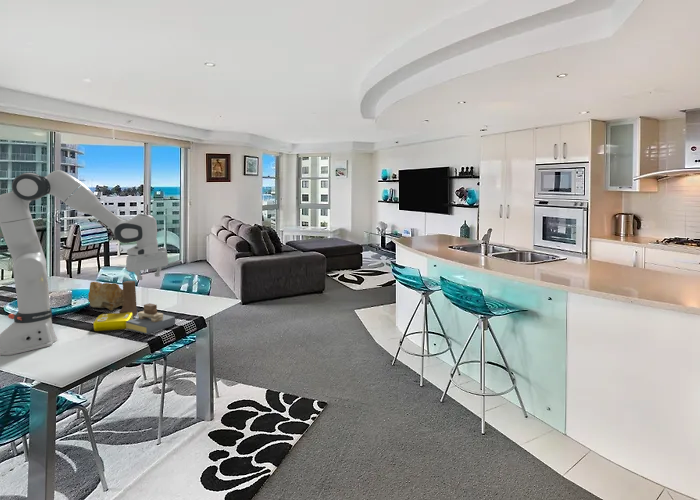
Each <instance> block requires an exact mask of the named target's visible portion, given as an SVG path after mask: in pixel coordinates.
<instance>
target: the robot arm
mask: <svg viewBox="0 0 700 500" xmlns="http://www.w3.org/2000/svg"><path fill="white" fill-rule="evenodd" d="M47 195H51V196H53V197H55V198H57V199H58V200H60V201H61V202H63V203H64V204H65V205H66V206H68V207H70V208H72V209H74V210H75V211H78V212H80V213H83V214H87V215H89V216H91V217H93V218H96V220H98V221H99V222H101V223H102V224H104V225H105V226H106V227H107V228H109V229H110V232H111V233H112V234H113V237H114V238H115V239H116V240H117V241H118V242H120V243H123V244H130V243H134V242H136V245H134V246H133V247H130V248H128V249H127V250H126V255H127V256H126V262H125V263H126V265H125V266H126V270H127V272H132V273H134V275H136V279H137V280H138V281H142V280H143V276H142V275H141V274H140V273H141V271H146V270H150V269H156V271H155V272H154V277H155V278H158V277H160V276H161V275H160V274H161V272H162V268H163V267H167V266H168V265H169V258H168V251H167V249H166V247H164V246H161V247H159V242H158V238H157V237H158V226H157V225H158V224H157V220H156V218H155V217H154V216H153V215H150V214H145V213H137V214H136V215H135V216H133V217H132V218H130V219H124V218H121V217H119V216H117V214H115V213H113V212H112V210H109V209H108V208H107V207H105V205H103V204H102V202H101V201H100V200H99V198H98V197H97V196H96V194H95V193H94V191H92V190H91V189H90V188H89V187H88V186H87V185H86V184H85V183H83V182H82V181H80V180H79V179H77V177H74V176H73V175H71V174H70V173H68V172H66V171H64V170H61V169H57V170H54V171H51V172H50V173H48V174H47V175H45V176H43V175H40V174H38V173H34V172H24V173H21V174H19V175H17V176H16V177H14V179H13V181H12V183H11V191H8V192H6V193H1V194H0V230H1V232H2V233H1V234H2V235H3V238H4V242H5V243H6V246H7V249H8V251H9V254H10V256H11V259H12V263H13V264H12V271H13V272H12V273H13V278H14V279H13V281H14V287H15V292H16V300H17V302H16V303H17V313H16V314H14V313H9V314H8V315H7V317H8V318H9V319H11V320H13V322H12V323H11V324H10V325H9V326H8V327H7V328H5V329H4V330H3V331H2V332H0V356H12V355H13V356H14V355H16V354H21V353H24V352H25V353H26V352H29V351H33V350H39V349H42V348H47V347H50V346H52V345H53V343H55V342H57V341H58V337H57V334H56V333H55V329H54V326H53V321H52V320H53V313H52V307H51V304H50V303H51V302H50V291H49V281H48V272H47V271H48V269H47V259H46V256H45V253H44V250H43V248H42V244H41V241H40V238H39V236H38V232H37V229H36V226H35V223H34V220H33V216H32V214H31V210H30V203H31V202H33V201H37V200H39V199H41V198H43V197H45V196H47Z"/></svg>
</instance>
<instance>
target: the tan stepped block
mask: <svg viewBox="0 0 700 500" xmlns="http://www.w3.org/2000/svg"><path fill="white" fill-rule="evenodd" d="M163 314H164V313H162V312H158V311H157V313H155V314H152V315H151V314H146V313H144V310H142V311H138V312H137V315H138V318H139V319H145V318H151V321H152V322H157V321H161V320H163Z"/></svg>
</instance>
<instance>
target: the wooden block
mask: <svg viewBox="0 0 700 500" xmlns="http://www.w3.org/2000/svg"><path fill="white" fill-rule="evenodd" d="M122 290H123V298H124V304H123V306H121V307H122V308H121V309H120V310H119V311H118V313H127V312H131V313H132V314H133V317H134V316H136V315H138V312H137V311H138V309H137V308H138V307H137V293H136V291H137V289H136V281H135V280H126V281H125V280H124V281H123V282H122Z"/></svg>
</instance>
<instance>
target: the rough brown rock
mask: <svg viewBox="0 0 700 500" xmlns="http://www.w3.org/2000/svg"><path fill="white" fill-rule="evenodd" d="M87 295H88V299H87V300H88V303H89V302H90V304H89V306H90V307H91V308H94V309H96V308H99V309H102V308H103V309H104V308H106V309H108V310H109V311H113V310H114V309H117V308H118V307H123V304H124V298H123V288H121V287H120V285H119V284H117V283H115V282H113V283H111V282H110V283H109V282H104V283H102V282H98V281H91V282H90V284H89V291H88V294H87Z"/></svg>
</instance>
